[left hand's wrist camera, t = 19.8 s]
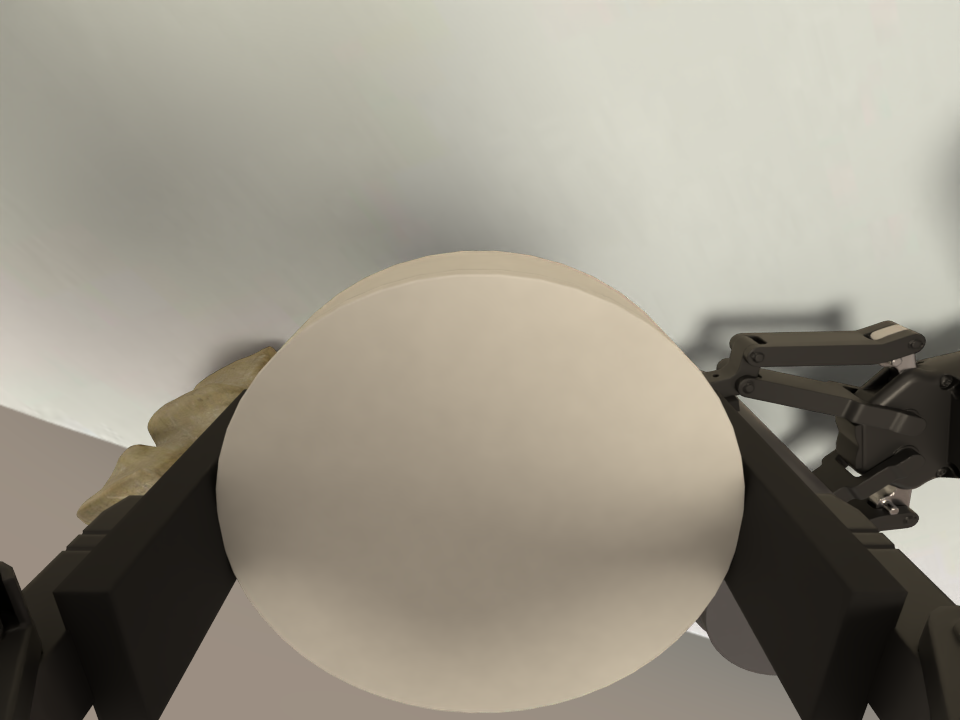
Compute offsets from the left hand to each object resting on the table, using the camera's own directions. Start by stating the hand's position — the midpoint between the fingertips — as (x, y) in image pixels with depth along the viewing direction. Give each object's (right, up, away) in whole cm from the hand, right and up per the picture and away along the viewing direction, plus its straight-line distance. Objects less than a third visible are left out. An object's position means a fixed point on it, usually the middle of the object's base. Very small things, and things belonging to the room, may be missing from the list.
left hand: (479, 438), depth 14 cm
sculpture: (-16, +1, +26) cm, 30 cm away
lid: (0, -1, -3) cm, 3 cm away
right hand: (+10, -6, +22) cm, 25 cm away
